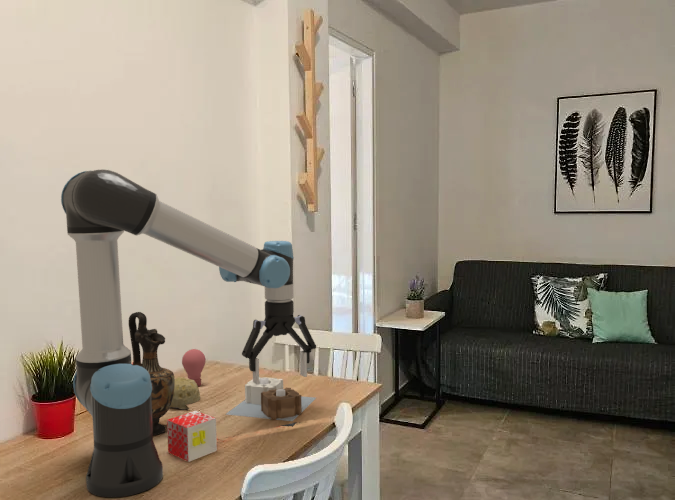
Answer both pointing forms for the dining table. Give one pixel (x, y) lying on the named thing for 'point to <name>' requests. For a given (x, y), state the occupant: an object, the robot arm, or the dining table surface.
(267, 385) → the gear
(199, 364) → the light bulb
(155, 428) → the vase
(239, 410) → the gear board
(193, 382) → the decorative item
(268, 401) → the walnut gear
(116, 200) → the robot arm
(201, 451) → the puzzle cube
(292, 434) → the dining table surface
